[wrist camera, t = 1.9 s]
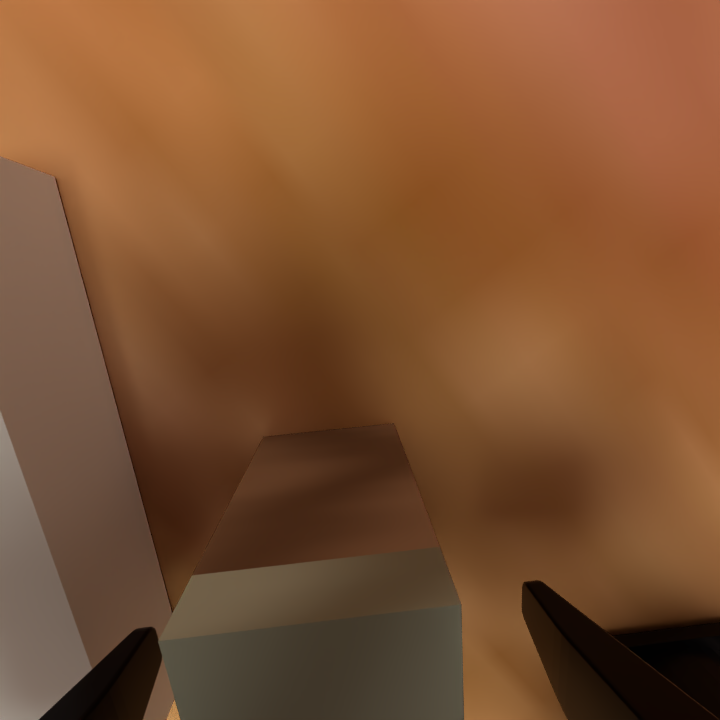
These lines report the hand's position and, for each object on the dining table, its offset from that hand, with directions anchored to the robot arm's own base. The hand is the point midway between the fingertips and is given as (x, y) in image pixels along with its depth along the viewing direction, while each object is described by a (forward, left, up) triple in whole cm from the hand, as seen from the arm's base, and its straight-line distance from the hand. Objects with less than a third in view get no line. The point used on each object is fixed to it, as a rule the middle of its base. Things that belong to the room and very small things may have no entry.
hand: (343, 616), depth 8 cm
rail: (+8, -3, -3) cm, 9 cm away
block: (0, 0, -3) cm, 3 cm away
